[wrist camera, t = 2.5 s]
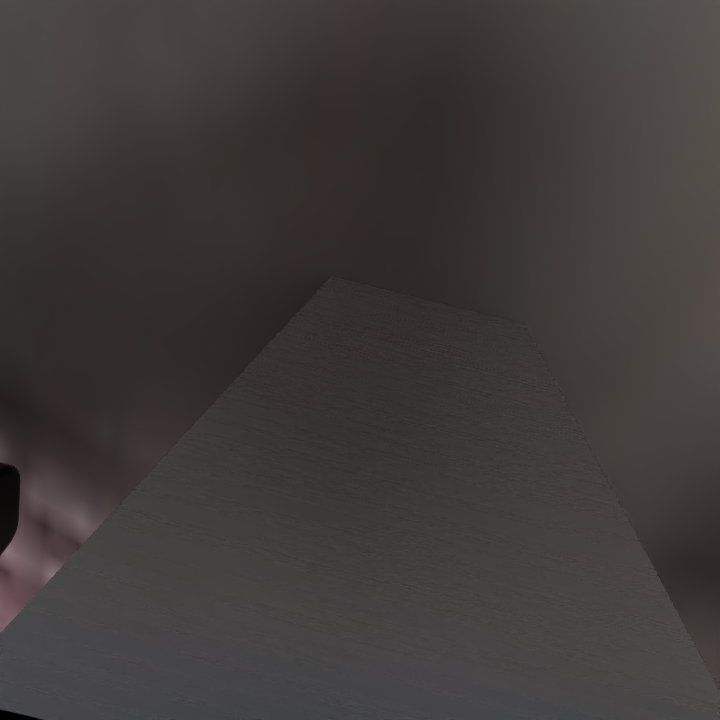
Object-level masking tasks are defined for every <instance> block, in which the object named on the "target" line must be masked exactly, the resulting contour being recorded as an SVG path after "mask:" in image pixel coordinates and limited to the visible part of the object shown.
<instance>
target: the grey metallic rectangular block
mask: <svg viewBox="0 0 720 720" xmlns="http://www.w3.org/2000/svg"><path fill="white" fill-rule="evenodd" d="M0 720H720V691H719V689H718V688H717V686H716V684H715V682H714V680H713V678H712V676H711V674H710V673H709V671H708V669H707V667H706V665H705V663H704V661H703V659H702V657H701V656H700V654H699V652H698V650H697V648H696V646H695V644H694V642H693V640H692V639H691V637H690V635H689V633H688V631H687V629H686V627H685V625H684V623H683V622H682V620H681V618H680V616H679V614H678V612H677V610H676V608H675V606H674V605H673V603H672V601H671V599H670V597H669V595H668V593H667V591H666V590H665V588H664V586H663V584H662V582H661V580H660V578H659V576H658V574H657V573H656V571H655V569H654V567H653V565H652V563H651V561H650V559H649V557H648V556H647V554H646V552H645V550H644V548H643V546H642V544H641V542H640V540H639V539H638V537H637V535H636V533H635V531H634V529H633V527H632V525H631V523H630V522H629V520H628V518H627V516H626V514H625V512H624V510H623V508H622V507H621V505H620V503H619V501H618V499H617V497H616V495H615V493H614V491H613V490H612V488H611V486H610V484H609V482H608V480H607V478H606V476H605V474H604V473H603V471H602V469H601V467H600V465H599V463H598V461H597V459H596V457H595V456H594V454H593V452H592V450H591V448H590V446H589V444H588V442H587V440H586V439H585V437H584V435H583V433H582V431H581V429H580V427H579V425H578V424H577V422H576V420H575V418H574V416H573V414H572V412H571V410H570V408H569V407H568V405H567V403H566V401H565V399H564V397H563V395H562V393H561V391H560V390H559V388H558V386H557V384H556V382H555V380H554V378H553V376H552V374H551V373H550V371H549V369H548V367H547V365H546V363H545V361H544V359H543V357H542V356H541V354H540V352H539V350H538V348H537V346H536V344H535V342H534V341H533V339H532V337H531V335H530V333H529V331H528V329H527V327H526V325H525V324H522V323H518V322H514V321H510V320H506V319H502V318H498V317H494V316H490V315H486V314H482V313H478V312H474V311H470V310H466V309H462V308H458V307H454V306H450V305H446V304H442V303H438V302H434V301H430V300H426V299H422V298H417V297H413V296H409V295H405V294H401V293H397V292H393V291H389V290H385V289H381V288H377V287H373V286H369V285H365V284H361V283H357V282H353V281H349V280H345V279H341V278H337V277H333V276H331V277H330V278H329V279H328V280H327V281H326V282H325V283H324V284H323V285H322V286H321V288H320V289H319V290H318V291H317V292H316V293H315V294H314V295H313V296H312V297H311V298H310V299H309V301H308V302H307V303H306V304H305V305H304V306H303V307H302V308H301V309H300V310H299V311H298V312H297V313H296V315H295V316H294V317H293V318H292V319H291V320H290V321H289V322H288V323H287V324H286V325H285V326H284V328H283V329H282V330H281V331H280V332H279V333H278V334H277V335H276V336H275V337H274V338H273V339H272V341H271V342H270V343H269V344H268V345H267V346H266V347H265V348H264V349H263V350H262V351H261V352H260V353H259V355H258V356H257V357H256V358H255V359H254V360H253V361H252V362H251V363H250V364H249V365H248V366H247V368H246V369H245V370H244V371H243V372H242V373H241V374H240V375H239V376H238V377H237V378H236V379H235V381H234V382H233V383H232V384H231V385H230V386H229V387H228V388H227V389H226V390H225V391H224V392H223V393H222V395H221V396H220V397H219V398H218V399H217V400H216V401H215V402H214V403H213V404H212V405H211V406H210V408H209V409H208V410H207V411H206V412H205V413H204V414H203V415H202V416H201V417H200V418H199V419H198V420H197V422H196V423H195V424H194V425H193V426H192V427H191V428H190V429H189V430H188V431H187V432H186V433H185V435H184V436H183V437H182V438H181V439H180V440H179V441H178V442H177V443H176V444H175V445H174V446H173V448H172V449H171V450H170V451H169V452H168V453H167V454H166V455H165V456H164V457H163V458H162V459H161V460H160V462H159V463H158V464H157V465H156V466H155V467H154V468H153V469H152V470H151V471H150V472H149V473H148V475H147V476H146V477H145V478H144V479H143V480H142V481H141V482H140V483H139V484H138V485H137V486H136V488H135V489H134V490H133V491H132V492H131V493H130V494H129V495H128V496H127V497H126V498H125V499H124V500H123V502H122V503H121V504H120V505H119V506H118V507H117V508H116V509H115V510H114V511H113V512H112V513H111V515H110V516H109V517H108V518H107V519H106V520H105V521H104V522H103V523H102V524H101V525H100V526H99V527H98V529H97V530H96V531H95V532H94V533H93V534H92V535H91V536H90V537H89V538H88V539H87V540H86V542H85V543H84V544H83V545H82V546H81V547H80V548H79V549H78V550H77V551H76V552H75V553H74V555H73V556H72V557H71V558H70V559H69V560H68V561H67V562H66V563H65V564H64V565H63V566H62V567H61V569H60V570H59V571H58V572H57V573H56V574H55V575H54V576H53V577H52V578H51V579H50V580H49V582H48V583H47V584H46V585H45V586H44V587H43V588H42V589H41V590H40V591H39V592H38V593H37V595H36V596H35V597H34V598H33V599H32V600H31V601H30V602H29V603H28V604H27V605H26V606H25V607H24V609H23V610H22V611H21V612H20V613H19V614H18V615H17V616H16V617H15V618H14V619H13V620H12V622H11V623H10V624H9V625H8V626H7V627H6V628H5V629H4V630H3V631H2V632H1V633H0Z"/></svg>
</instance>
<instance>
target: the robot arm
mask: <svg viewBox="0 0 720 720" xmlns="http://www.w3.org/2000/svg"><path fill="white" fill-rule="evenodd" d="M19 497H20V474H19V471H18V470H17V469H16V468H15V467H14V466H12V465H8V464H4V463H1V462H0V556H1V554H2V553H3V552H4V550H5V549H6V548H7V546H8V545H9V544H10V542H11V541H12V539H13V537H14V535H15V533H16V530H17V526H18V521H19Z"/></svg>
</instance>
